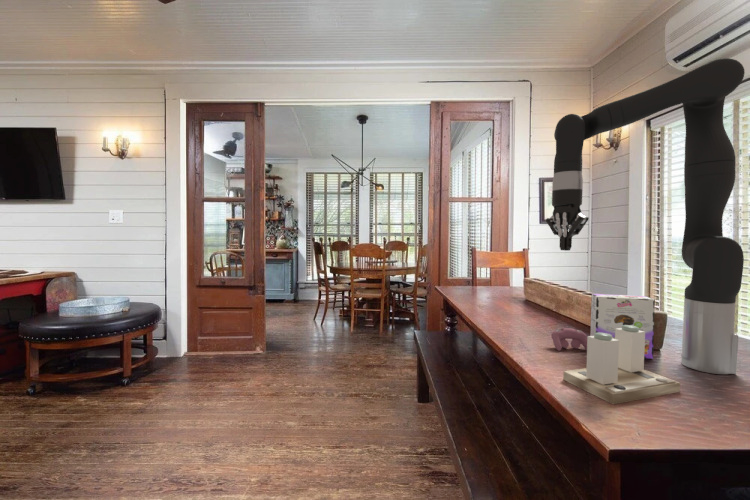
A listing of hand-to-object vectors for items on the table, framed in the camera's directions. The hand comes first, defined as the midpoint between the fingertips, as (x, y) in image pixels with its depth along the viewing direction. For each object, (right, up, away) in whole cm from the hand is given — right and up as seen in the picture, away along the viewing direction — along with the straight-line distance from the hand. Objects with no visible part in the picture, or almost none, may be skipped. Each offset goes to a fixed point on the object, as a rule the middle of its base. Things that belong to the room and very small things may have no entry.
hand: (565, 250), depth 99 cm
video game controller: (+3, -29, +3) cm, 29 cm away
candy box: (+15, -29, -1) cm, 33 cm away
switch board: (0, -30, -22) cm, 37 cm away
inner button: (+5, -28, -18) cm, 33 cm away
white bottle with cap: (-6, -28, -24) cm, 37 cm away
